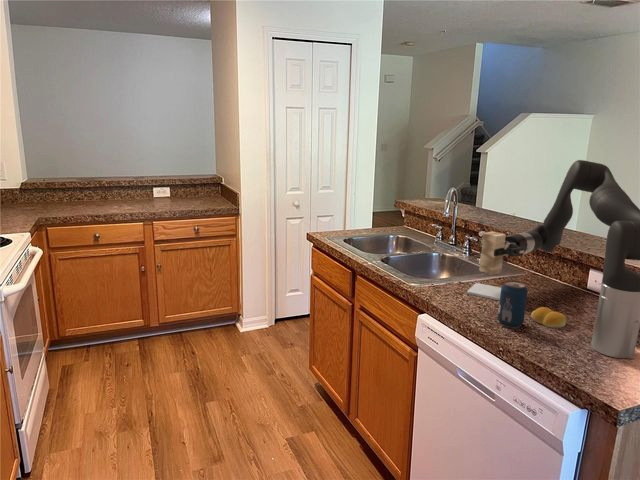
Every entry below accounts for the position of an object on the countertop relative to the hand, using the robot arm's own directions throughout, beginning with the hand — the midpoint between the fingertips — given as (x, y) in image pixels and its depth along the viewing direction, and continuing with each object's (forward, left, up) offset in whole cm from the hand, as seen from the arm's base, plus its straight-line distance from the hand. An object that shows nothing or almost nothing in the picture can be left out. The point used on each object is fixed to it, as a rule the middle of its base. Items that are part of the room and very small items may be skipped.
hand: (487, 251), depth 155 cm
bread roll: (-22, +12, -15) cm, 29 cm away
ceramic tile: (-1, -2, -15) cm, 15 cm away
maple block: (-1, -3, -7) cm, 8 cm away
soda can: (-13, +21, -15) cm, 29 cm away
